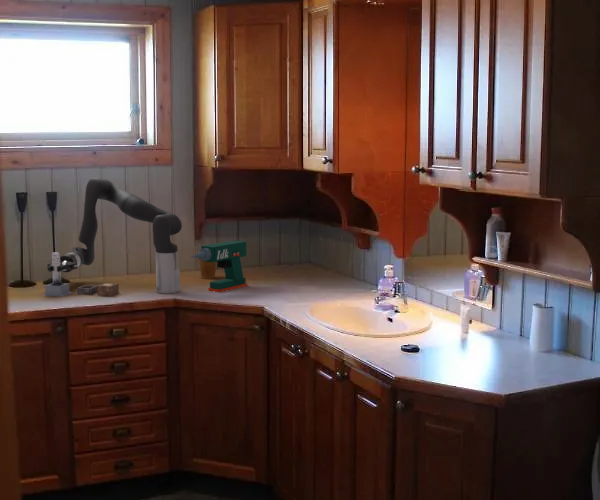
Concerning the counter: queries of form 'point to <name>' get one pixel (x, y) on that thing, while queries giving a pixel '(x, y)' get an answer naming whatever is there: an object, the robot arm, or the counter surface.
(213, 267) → the disposable coffee cup
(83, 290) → the socket block
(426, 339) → the counter surface
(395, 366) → the counter surface
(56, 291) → the gray square socket
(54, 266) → the pale grey rod
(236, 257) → the power tool
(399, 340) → the counter surface
